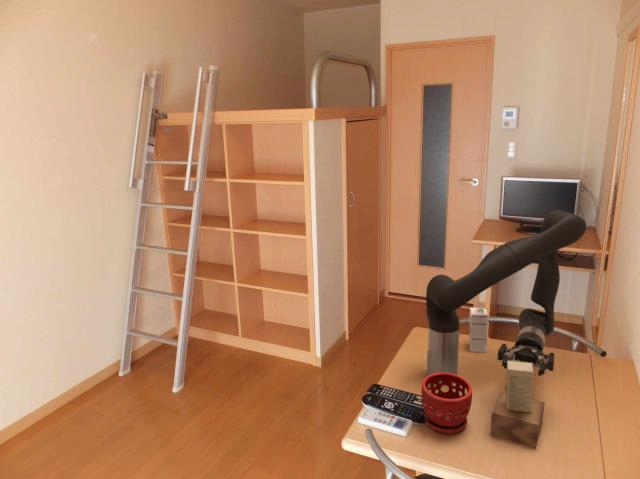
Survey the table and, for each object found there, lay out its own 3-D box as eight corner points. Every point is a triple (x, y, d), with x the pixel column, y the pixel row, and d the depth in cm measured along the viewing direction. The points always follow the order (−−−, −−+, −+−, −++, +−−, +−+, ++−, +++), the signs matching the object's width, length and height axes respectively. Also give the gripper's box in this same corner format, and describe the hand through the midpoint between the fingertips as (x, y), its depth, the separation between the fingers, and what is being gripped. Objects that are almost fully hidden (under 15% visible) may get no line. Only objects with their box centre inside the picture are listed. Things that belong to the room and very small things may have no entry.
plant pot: (410, 422, 132) (411, 383, 129) (441, 403, 140) (443, 366, 137) (449, 446, 122) (451, 405, 119) (480, 425, 130) (482, 385, 127)
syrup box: (487, 352, 167) (489, 314, 164) (469, 351, 169) (470, 313, 165) (485, 345, 173) (486, 307, 169) (467, 344, 174) (469, 306, 170)
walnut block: (490, 435, 126) (491, 412, 124) (499, 413, 135) (500, 391, 133) (536, 449, 120) (538, 425, 119) (542, 425, 129) (544, 402, 128)
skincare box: (530, 403, 127) (533, 362, 123) (531, 413, 123) (535, 372, 119) (504, 399, 129) (507, 359, 125) (504, 409, 125) (507, 368, 121)
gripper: (505, 327, 144) (495, 350, 130) (558, 336, 137) (553, 362, 123) (503, 349, 146) (493, 375, 132) (555, 360, 139) (550, 388, 125)
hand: (522, 369), depth 128 cm, fingers open, 8 cm apart
